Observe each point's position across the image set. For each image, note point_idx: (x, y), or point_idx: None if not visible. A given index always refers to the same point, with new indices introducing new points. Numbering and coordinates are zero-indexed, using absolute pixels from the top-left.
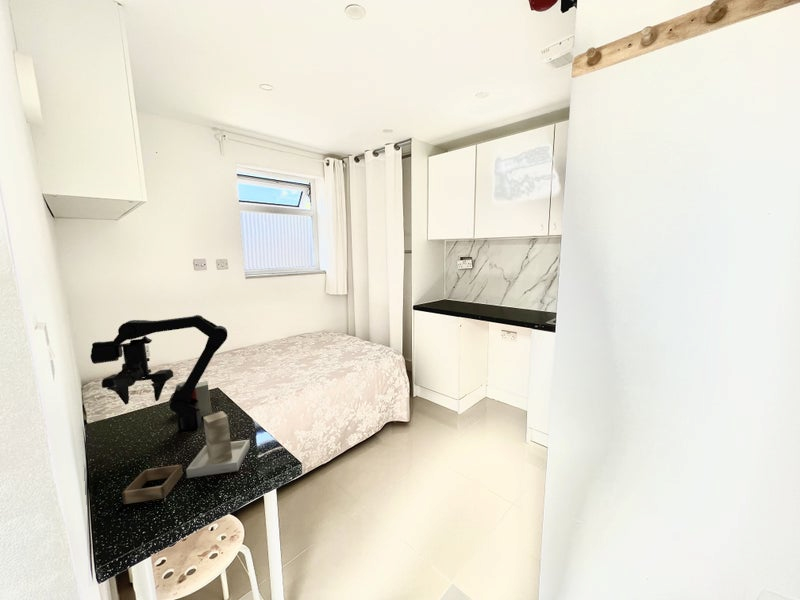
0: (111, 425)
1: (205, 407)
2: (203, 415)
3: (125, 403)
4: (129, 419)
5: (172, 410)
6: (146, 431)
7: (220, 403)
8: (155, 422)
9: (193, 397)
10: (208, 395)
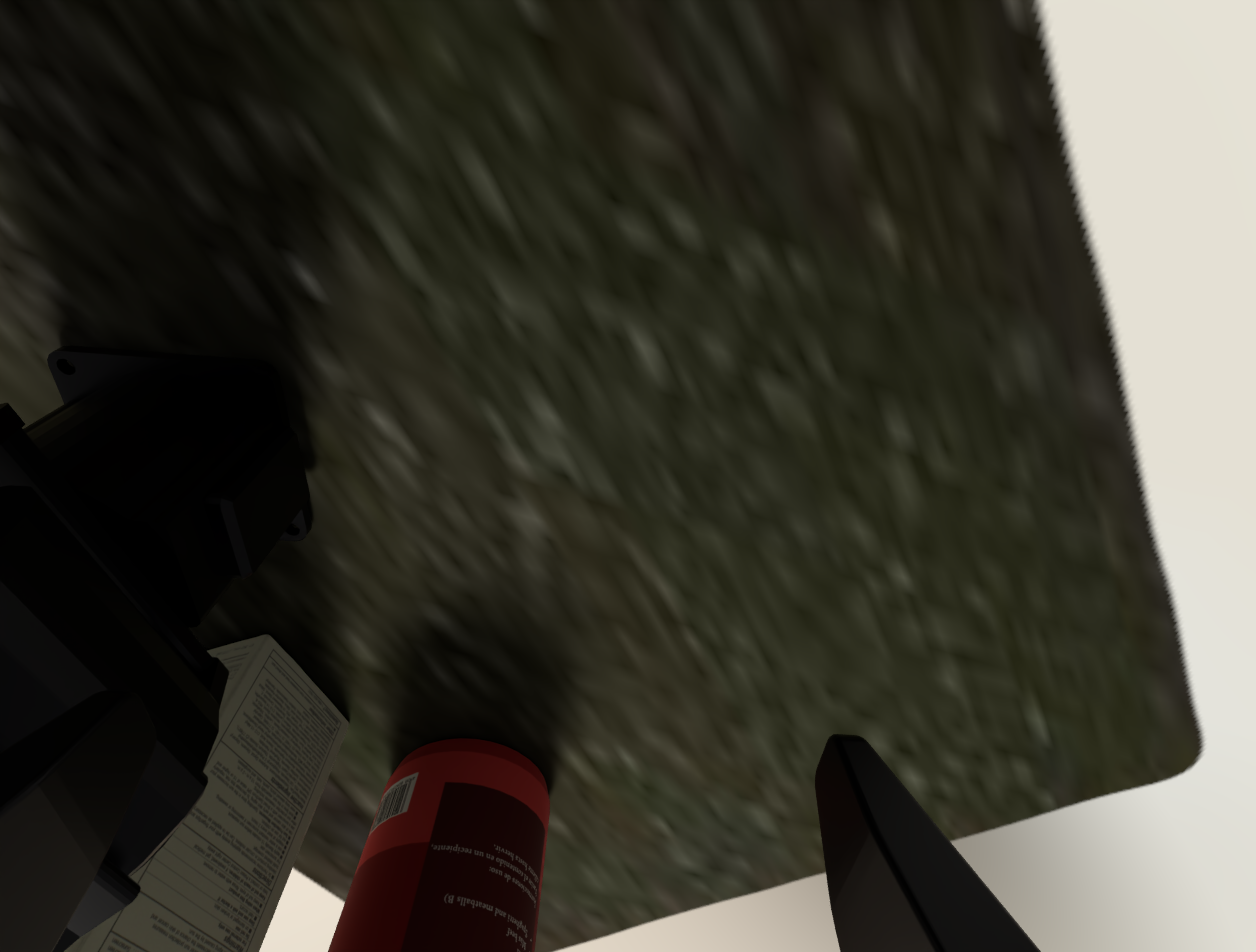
0: (1032, 716)
1: None
2: (235, 645)
3: (859, 758)
4: (917, 764)
5: (25, 504)
6: (665, 519)
7: None
8: (664, 659)
9: (361, 882)
10: None
